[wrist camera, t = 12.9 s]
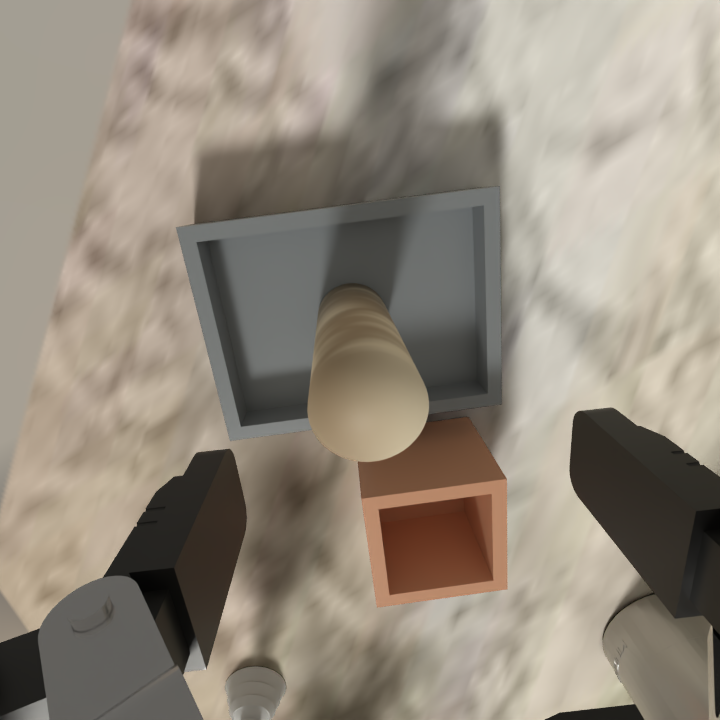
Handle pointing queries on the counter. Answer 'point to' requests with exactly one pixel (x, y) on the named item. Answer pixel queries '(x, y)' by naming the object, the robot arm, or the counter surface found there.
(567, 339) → the counter surface
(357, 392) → the peg
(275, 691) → the chalice
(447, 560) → the terracotta open box
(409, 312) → the tray
